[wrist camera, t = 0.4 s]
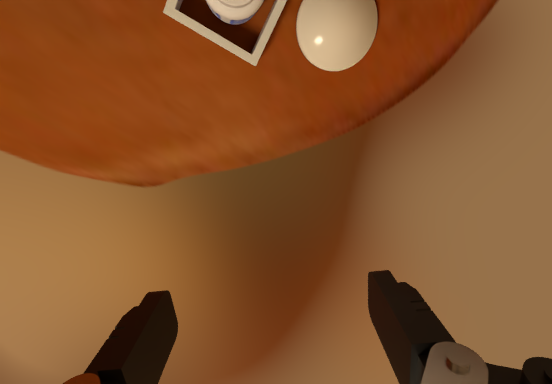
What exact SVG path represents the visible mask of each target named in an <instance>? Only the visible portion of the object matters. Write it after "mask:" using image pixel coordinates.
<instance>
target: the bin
mask: <svg viewBox="0 0 552 384" xmlns="http://www.w3.org/2000/svg"><path fill="white" fill-rule="evenodd" d="M182 1H183V0H167V3H166V6H165V9H164V11H163V13H165V14H166V15H168V16H170V17H171V18H173V19H175V20H177V21H178V22H180V23H182V24H184V25H185V26H187V27H189V28H190V29H192V30H194V31H196V32H197V33H199V34H201V35H202V36H204V37H206V38H208V39H209V40H211V41H213V42H214V43H216V44H218V45H220V46H221V47H223V48H225V49H226V50H228V51H230V52H232V53H233V54H235V55H237V56H238V57H240V58H242V59H244V60H245V61H247V62H249V63H250V64H252V65H254V66H256V65H257V62H258V60H259V58H260V56H261V54H262V52H263V50H264V48H265V46H266V44H267V41H268V39H269V37H270V35H271V33H272V31H273V29H274V27H275V25H276V22H277V20H278V18H279V16H280V14H281V12H282V10H283V8H284V6H285V3H286V1H287V0H275V2H274V4H273V6H272V8H271V11H270V13H269V15H268V17H267V19H266V21H265V24H264V26H263V28H262V30H261V32H260V34H259V37H258V39H257V41H256V43H255V45H254V47H253V50H252V52H251V54H250V53H248V52H247V51H245V50H243V49H241V48H240V47H238V46H236V45H235V44H233V43H231V42H230V41H228V40H226V39H225V38H223V37H221V36H220V35H218V34H216V33H215V32H213V31H211V30H210V29H208V28H206V27H204V26H203V25H201V24H199V23H198V22H196V21H194V20H193V19H191V18H189V17H188V16H186V15H184V14H183V13H181V12H179V9H180V7H181V4H182Z"/></svg>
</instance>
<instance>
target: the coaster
mask: <svg viewBox="0 0 552 384" xmlns="http://www.w3.org/2000/svg"><path fill="white" fill-rule="evenodd" d="M377 22H378V15H377V7H376V4H375V0H303V1H302V3H301V5H300V7H299V10H298V14H297V19H296V35H297V40H298V44H299V47H300V49H301V51H302V53H303V54H304V56H305V57H306V58H307V60H308V61H309V62H310V63H312V64H313V65H314V66H316V67H318V68H320V69H323V70H328V71H340V70H344V69H347V68H349V67H351V66H353V65H354V64H356V63H357V62H359V61H360V60H361V59H362V58H363V57H364V55H365V54H366V53H367V51H368V50H369V48H370V47H371V45H372V43H373V40H374V38H375V34H376V30H377Z"/></svg>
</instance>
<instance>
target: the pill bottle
mask: <svg viewBox="0 0 552 384" xmlns="http://www.w3.org/2000/svg"><path fill="white" fill-rule="evenodd" d="M263 1H264V0H206V2H207V4H208V6H209V8H210V9H211V11H212V12H213V13H214V14H215V16H216V17H218V18H219V19H220V20H222V21H223V22H225V23H228V24H233V25H238V24H242V23H245V22H247V21H248V20H250V19H251V18H252V17H253V15H254V14H255V13H256V12H257V11H258V9H259V8H260V6H261V5H262V3H263Z"/></svg>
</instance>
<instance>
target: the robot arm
mask: <svg viewBox="0 0 552 384" xmlns="http://www.w3.org/2000/svg"><path fill="white" fill-rule="evenodd" d="M368 308H369V313H370V317H371V320H372V323H373V325H374V327H375V329H376V332H377V334H378V336H379V339H380V341H381V343H382V345H383V348H384V350H385V352H386V354H387V357H388V359H389V361H390V364H391V366H392V368H393V370H394V373H395V375H396V377H397V379H398V382H399V384H552V359H549V358H544V357H532V358H529V359H527V360H526V361H525V362H524V364H523V368H522V370H519V369H514V368H508V367H503V366H497V365H493V364H489V363H486V362H484V360H483V359H482V358H481V357H480V356H479V355H478V354H477V353H475V352H474V351H473V350H471V349H470V348H468V347H466V346H463V345H461V344H458V343H456V342H455V340H454V339H453V338H452V336H451V335H450V334H449V333H448V331H447V330H446V329H445V327H444V326H443V324H442V323H441V322H440V320H439V319H438V318H437V316H436V315H435V314H434V313H433V311H431V309H430V307H429V306H428V305H427V303H426V302H424V299H423V298H422V297H421V295H420V294H419V292H418V291H417V290H416V289H415V288H413V287H412V286H410V285H409V284H407V283H406V282H400V283H397V281H396V280H395V278H394V277H393V275H392V274H391V272H390V271H389V270H385V271H374V272H369V273H368ZM177 332H178V322H177V317H176V313H175V310H174V306H173V302H172V298H171V295H170V292H169V291H156V292H148V293H147V294H146V296H145V297H144V299H143V300H142V302H141V303H140V305H139V306H136V307H133V308H132V309H131V310H130V311H129V312H127V314H125V315H124V316H123V317H122V318H121V320H120V321H119V323H118V324H117V326H116V327H115V330H113V331H112V333H111V334H110V336H109V339H107V340H106V342H105V343H104V345H103V346H102V347H101V349H100V350H99V352H98V353H97V355H96V356H95V357H94V359H93V360H92V362H91V363H90V365H89V366H88V368H87V369H86V371H85V372H84V374H81V375H78V376H75V377H73V378H71V379H69V380H68V381H66V382H65V383H63V384H158V382H159V380H160V377H161V375H162V372H163V369H164V367H165V364H166V362H167V360H168V357H169V355H170V352H171V350H172V347H173V345H174V342H175V340H176V337H177Z"/></svg>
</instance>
